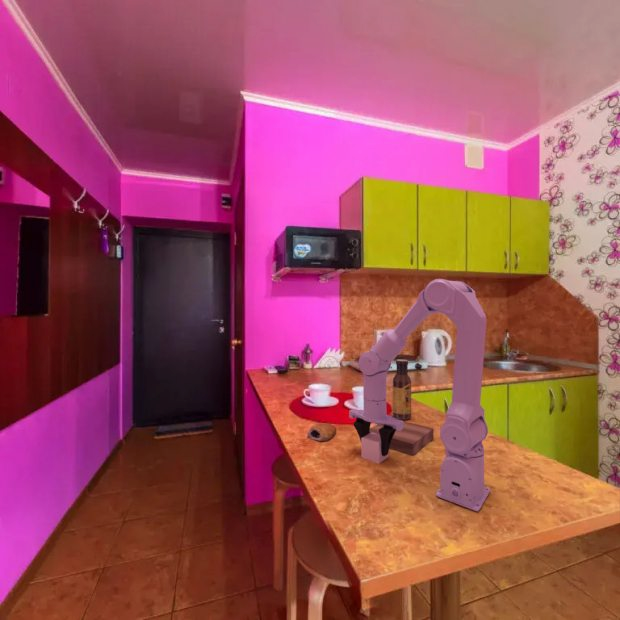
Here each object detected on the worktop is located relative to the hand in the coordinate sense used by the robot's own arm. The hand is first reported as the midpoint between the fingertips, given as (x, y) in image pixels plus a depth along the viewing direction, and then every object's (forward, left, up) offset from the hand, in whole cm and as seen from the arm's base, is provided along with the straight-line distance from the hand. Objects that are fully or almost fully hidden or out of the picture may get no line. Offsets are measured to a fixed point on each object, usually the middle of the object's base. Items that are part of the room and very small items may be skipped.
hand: (375, 451), depth 83 cm
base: (+14, 0, -1) cm, 14 cm away
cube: (0, 0, -1) cm, 1 cm away
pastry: (+2, +19, -2) cm, 19 cm away
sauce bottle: (+32, +8, -2) cm, 33 cm away
